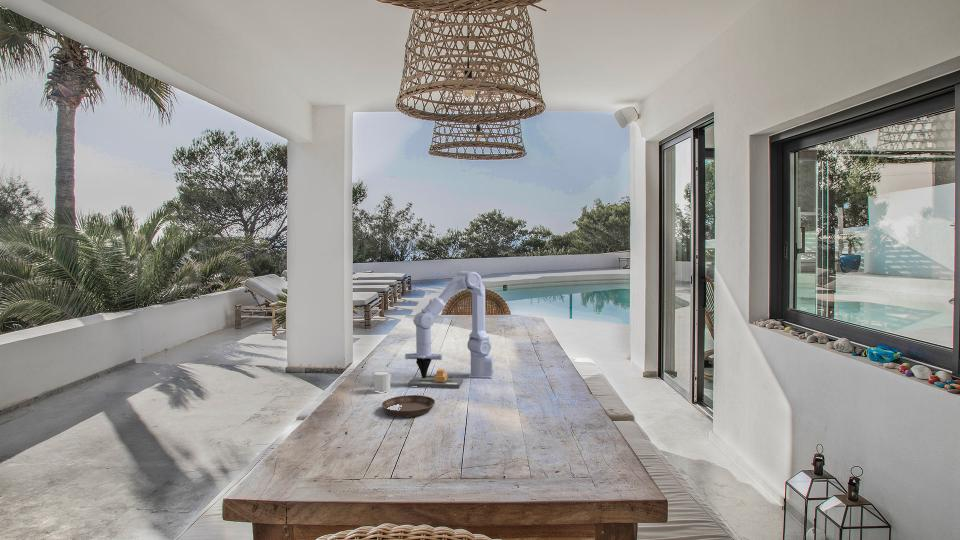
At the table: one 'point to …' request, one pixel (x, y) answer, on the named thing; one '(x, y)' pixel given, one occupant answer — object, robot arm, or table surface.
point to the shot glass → (382, 381)
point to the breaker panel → (430, 382)
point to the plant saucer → (409, 405)
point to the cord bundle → (433, 376)
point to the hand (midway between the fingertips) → (424, 377)
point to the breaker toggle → (440, 376)
